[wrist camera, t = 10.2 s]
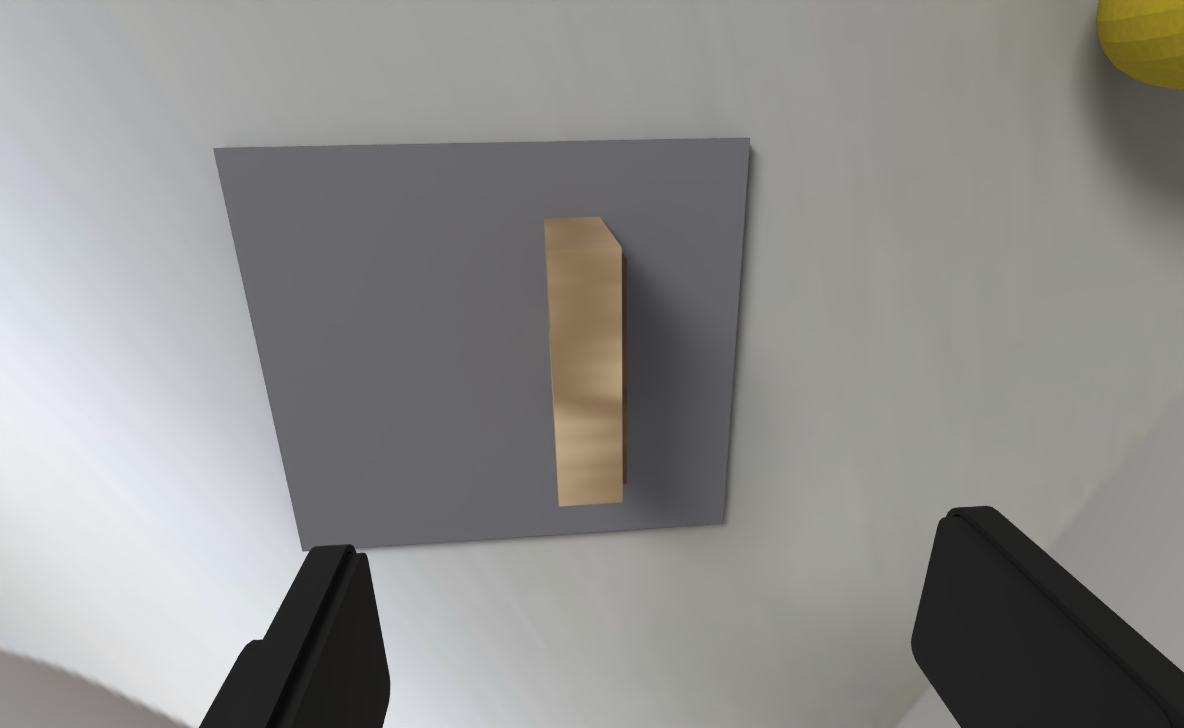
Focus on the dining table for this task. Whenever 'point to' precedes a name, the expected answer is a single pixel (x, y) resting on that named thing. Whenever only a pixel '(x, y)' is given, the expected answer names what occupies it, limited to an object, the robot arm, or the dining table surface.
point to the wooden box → (587, 358)
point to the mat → (482, 328)
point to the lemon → (1144, 39)
